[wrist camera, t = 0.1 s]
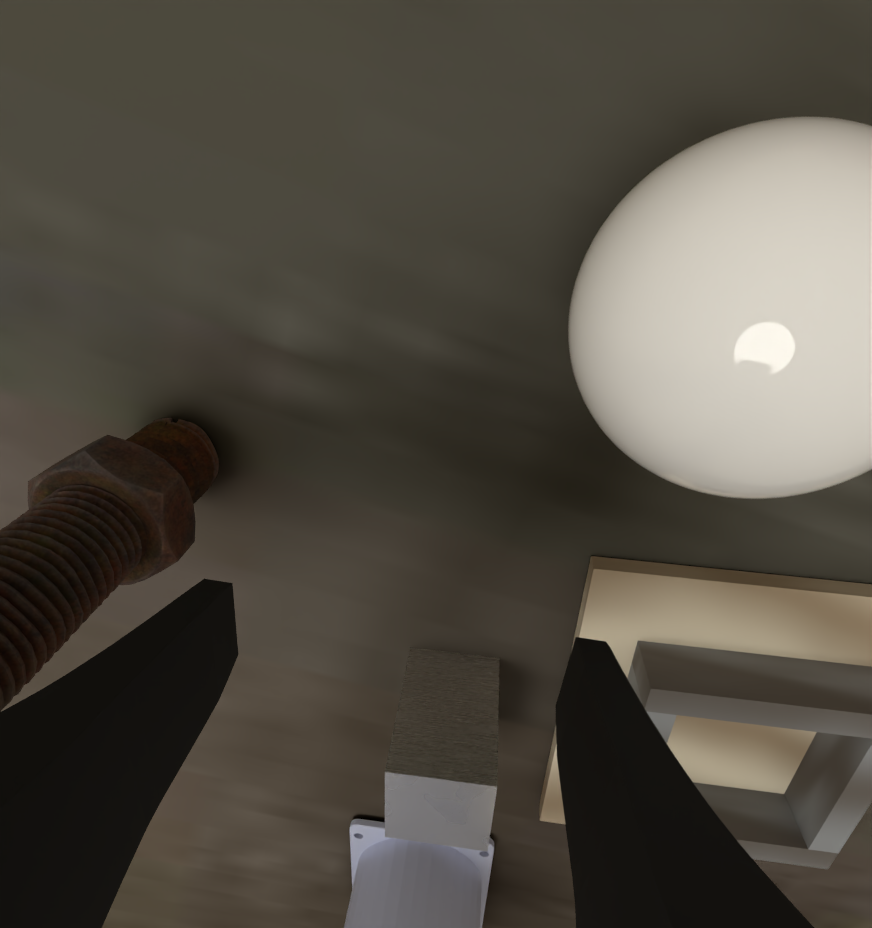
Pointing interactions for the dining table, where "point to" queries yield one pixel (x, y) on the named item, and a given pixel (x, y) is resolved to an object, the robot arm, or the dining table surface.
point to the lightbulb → (737, 312)
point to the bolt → (95, 536)
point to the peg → (444, 751)
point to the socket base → (746, 694)
